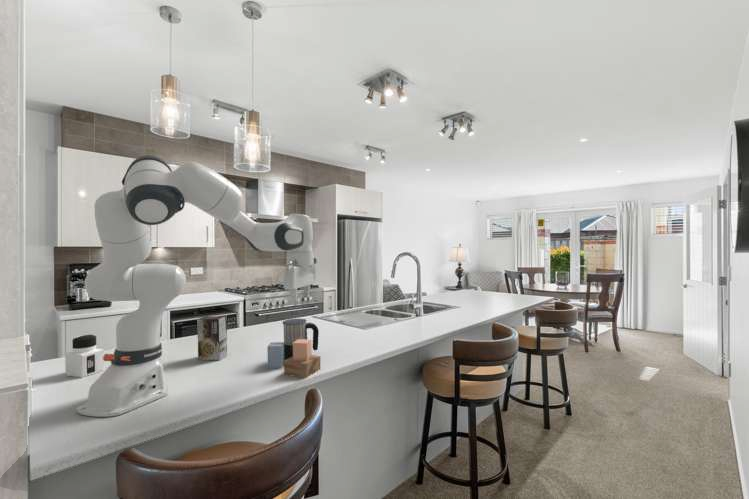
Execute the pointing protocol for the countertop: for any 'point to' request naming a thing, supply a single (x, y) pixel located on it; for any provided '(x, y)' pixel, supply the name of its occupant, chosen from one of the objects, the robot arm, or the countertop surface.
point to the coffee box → (212, 337)
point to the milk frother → (297, 334)
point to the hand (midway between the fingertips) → (300, 299)
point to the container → (84, 357)
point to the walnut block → (302, 366)
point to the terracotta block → (302, 349)
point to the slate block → (276, 355)
